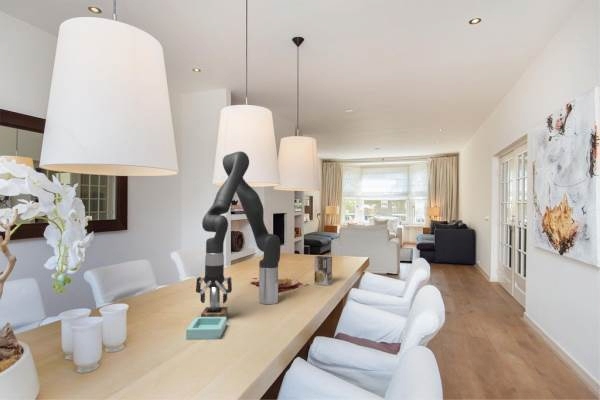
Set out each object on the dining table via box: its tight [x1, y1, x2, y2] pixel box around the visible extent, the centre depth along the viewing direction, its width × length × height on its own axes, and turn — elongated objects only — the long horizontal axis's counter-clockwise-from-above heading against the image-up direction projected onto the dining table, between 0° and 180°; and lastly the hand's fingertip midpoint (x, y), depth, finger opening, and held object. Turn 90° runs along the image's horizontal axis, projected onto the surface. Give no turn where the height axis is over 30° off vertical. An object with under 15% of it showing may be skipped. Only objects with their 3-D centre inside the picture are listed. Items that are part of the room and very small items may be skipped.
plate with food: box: [250, 277, 310, 292], centre depth 201 cm, size 25×26×4 cm
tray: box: [185, 316, 228, 341], centre depth 127 cm, size 12×13×4 cm
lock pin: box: [209, 287, 221, 313], centre depth 140 cm, size 4×4×14 cm
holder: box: [200, 306, 228, 318], centre depth 140 cm, size 9×9×4 cm
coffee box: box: [313, 255, 333, 287], centre depth 204 cm, size 9×6×16 cm
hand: (213, 302), depth 140 cm, fingers open, 8 cm apart
